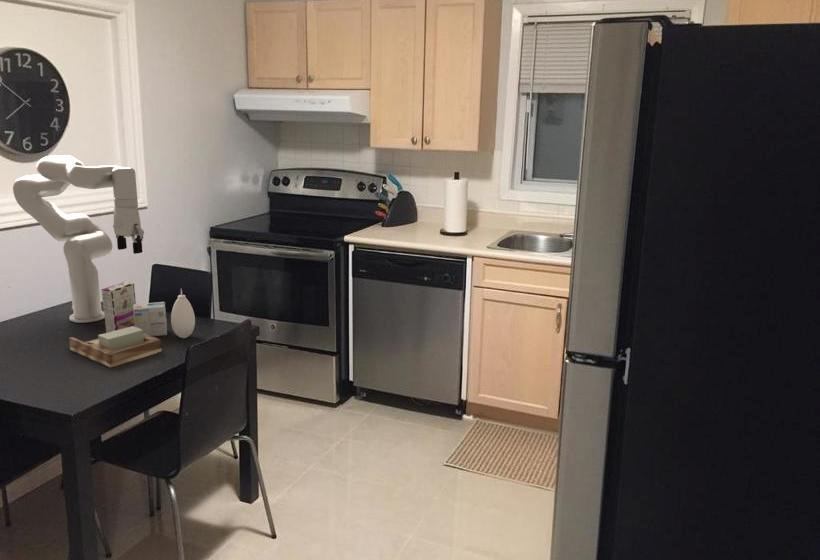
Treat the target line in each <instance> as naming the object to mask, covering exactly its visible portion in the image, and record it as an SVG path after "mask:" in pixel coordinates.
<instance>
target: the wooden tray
mask: <svg viewBox="0 0 820 560" xmlns="http://www.w3.org/2000/svg"><path fill="white" fill-rule="evenodd" d="M117 327H118V330H120V329H124V328H127V327H126V326H123V325H117ZM143 335H144V342H143V343H139V344H136V345H132V346H129V347H126V348H122V349H119V350H115V351H111V350H109V349H107V348H104V347H102V346H99V339H98V338H96V339H91V340H89V341H83V340H81V339H78V338H75V337H74V336H71V337H69V338H68V341H69V342H68V343H69V350H70V351H72V352H74V353H77V354H79V355H82V356H84V357H86V358H88V359H90V360H92V361H95V362H97V363H99V364H102V365H104V366H106V367H108V368H113V367H117V366H119V365H123V364H126V363H130V362H133V361H136V360H139V359H143V358H145V357H150V356H151V355H155V354H158V352H159V353H161V351H162V352H163V349H162V339H160V338H157V337H156V336H150V335H147V334H145V333H143Z"/></svg>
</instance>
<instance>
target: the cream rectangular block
mask: <svg viewBox="0 0 820 560" xmlns="http://www.w3.org/2000/svg"><path fill="white" fill-rule="evenodd" d="M97 336H98V337H97V339H99V346H102V347H104V348H107V349H109V350H111V351H115V350H119V349H122V348H126V347H129V346H132V345H136V344H139V343H143V342H144V335H143V330H142V329H139V328H137V327H134V326H131V327H127V328H124V329H120V330H116V331H112V332H108V333H106V332H104V333H102V334H98V335H97Z"/></svg>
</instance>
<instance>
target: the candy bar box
mask: <svg viewBox="0 0 820 560" xmlns="http://www.w3.org/2000/svg"><path fill="white" fill-rule="evenodd" d="M101 297H102V306H103V311H104V316H105V318H104V324H105V333H108V332H112V331H116V330H118V327H117V325H123V326H126V327H131V326H134V315H133V306H134V304H137V301H136V291H135V283H134V282H128V281H122V282H120V283H116V284H113V285H111V286H107V287H105V288H102V289H101ZM134 327H135V326H134Z"/></svg>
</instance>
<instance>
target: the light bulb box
mask: <svg viewBox="0 0 820 560" xmlns="http://www.w3.org/2000/svg"><path fill="white" fill-rule="evenodd" d="M133 315H134V326H135V327H137V328H139V329H142V330H143V333H145V334H147V335H150V336H153V337H158V336H159V337H160V336H167V335H168V321H167V310H166V302H165V301H158V302H149V303H148V302H147V303H146V302H145V303H136V304H134V306H133Z"/></svg>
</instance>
